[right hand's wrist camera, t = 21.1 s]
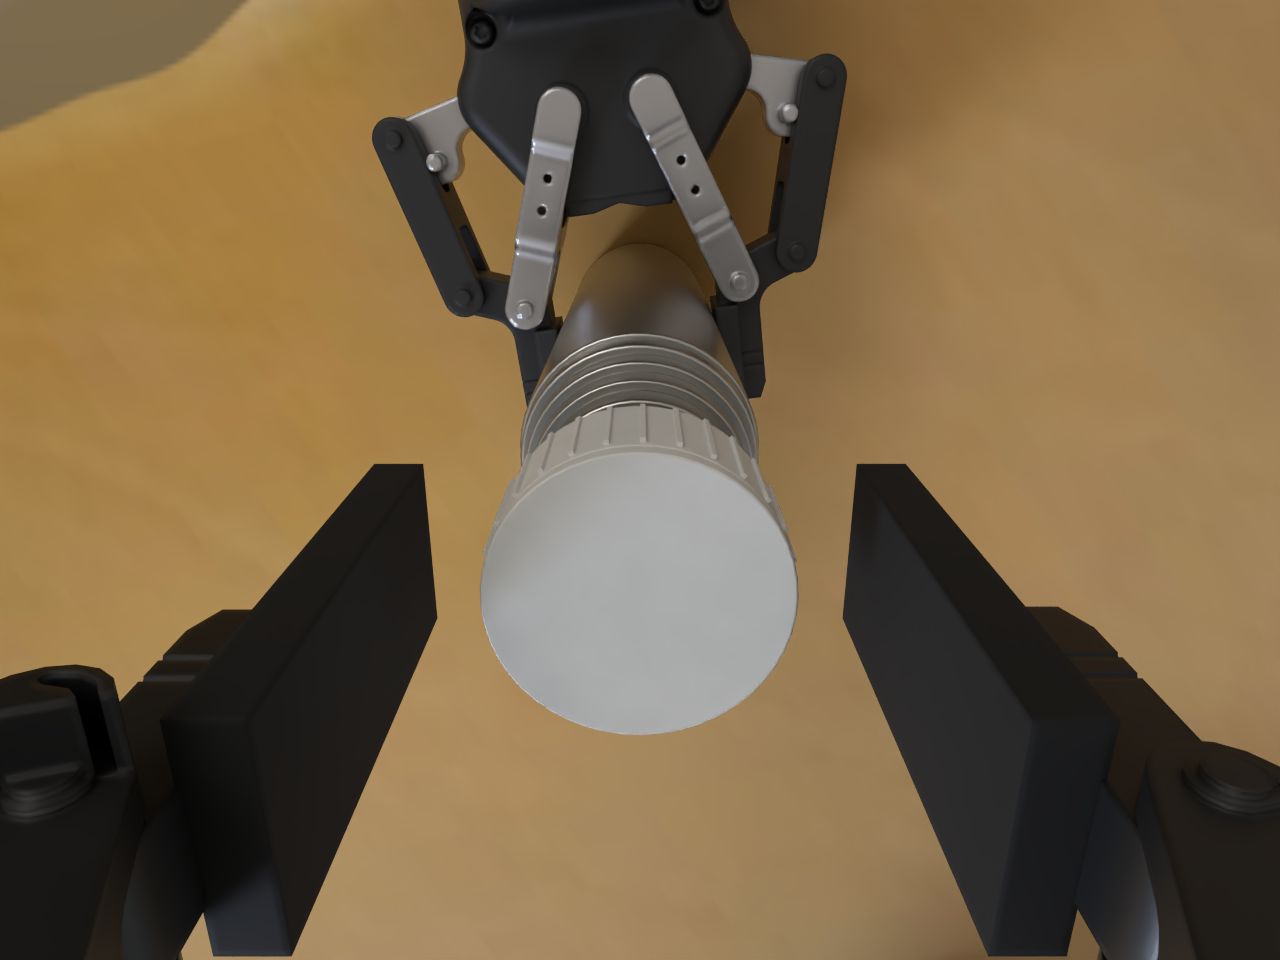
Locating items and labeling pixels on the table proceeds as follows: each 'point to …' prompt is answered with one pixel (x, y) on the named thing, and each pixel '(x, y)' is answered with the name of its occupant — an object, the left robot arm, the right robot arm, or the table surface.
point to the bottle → (639, 351)
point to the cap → (639, 573)
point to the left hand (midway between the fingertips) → (648, 420)
